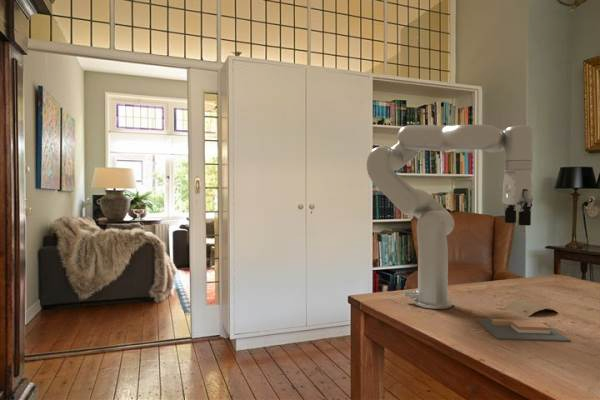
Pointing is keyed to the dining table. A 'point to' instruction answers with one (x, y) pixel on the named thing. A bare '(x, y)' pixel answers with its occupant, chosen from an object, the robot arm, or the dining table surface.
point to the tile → (530, 327)
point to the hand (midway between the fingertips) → (517, 224)
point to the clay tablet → (525, 307)
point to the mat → (505, 331)
